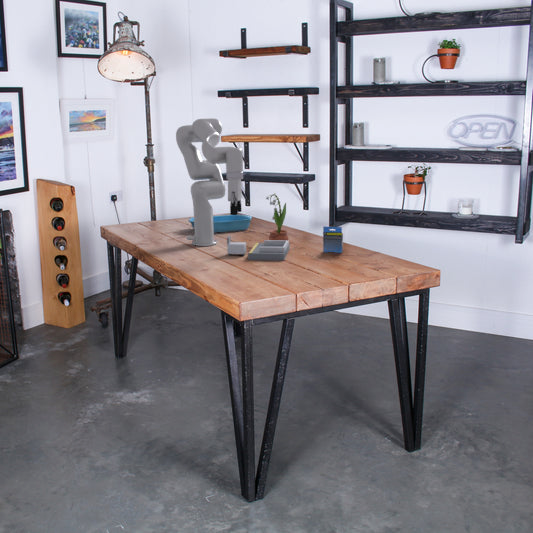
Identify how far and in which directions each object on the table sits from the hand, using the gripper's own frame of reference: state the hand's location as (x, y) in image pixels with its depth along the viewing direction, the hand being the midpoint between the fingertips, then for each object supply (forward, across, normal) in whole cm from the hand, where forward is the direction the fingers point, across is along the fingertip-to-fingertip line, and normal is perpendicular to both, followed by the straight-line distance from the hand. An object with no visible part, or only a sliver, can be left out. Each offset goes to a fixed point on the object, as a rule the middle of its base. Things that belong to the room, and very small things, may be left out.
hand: (236, 213), depth 292 cm
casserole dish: (+19, -64, -21) cm, 70 cm away
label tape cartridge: (+20, -9, +44) cm, 49 cm away
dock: (+20, -2, +15) cm, 25 cm away
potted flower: (+20, -30, +15) cm, 39 cm away
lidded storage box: (+19, 0, 0) cm, 19 cm away
